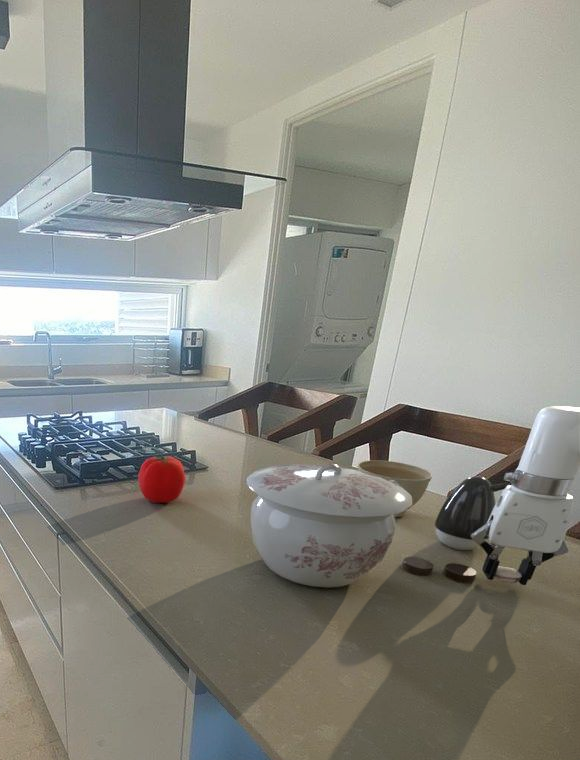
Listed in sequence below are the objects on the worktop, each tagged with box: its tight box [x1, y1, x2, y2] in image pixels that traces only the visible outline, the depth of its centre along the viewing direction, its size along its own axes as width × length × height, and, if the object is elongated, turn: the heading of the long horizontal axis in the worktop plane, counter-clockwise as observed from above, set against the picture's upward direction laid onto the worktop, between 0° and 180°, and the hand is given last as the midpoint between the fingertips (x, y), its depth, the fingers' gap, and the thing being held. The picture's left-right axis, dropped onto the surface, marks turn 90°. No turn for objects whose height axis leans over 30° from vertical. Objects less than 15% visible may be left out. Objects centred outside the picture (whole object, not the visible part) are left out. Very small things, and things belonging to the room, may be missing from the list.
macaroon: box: [494, 565, 522, 584], centre depth 88 cm, size 4×5×2 cm
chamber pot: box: [246, 463, 413, 589], centre depth 88 cm, size 28×28×21 cm
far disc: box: [401, 556, 434, 577], centre depth 93 cm, size 5×5×2 cm
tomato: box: [137, 454, 187, 504], centre depth 124 cm, size 12×13×12 cm
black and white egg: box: [434, 475, 509, 551], centre depth 101 cm, size 10×10×15 cm
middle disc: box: [442, 562, 477, 584], centre depth 91 cm, size 5×5×2 cm
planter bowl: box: [357, 460, 433, 518], centre depth 119 cm, size 16×16×11 cm
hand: (504, 578), depth 88 cm, fingers closed on macaroon, 4 cm apart
